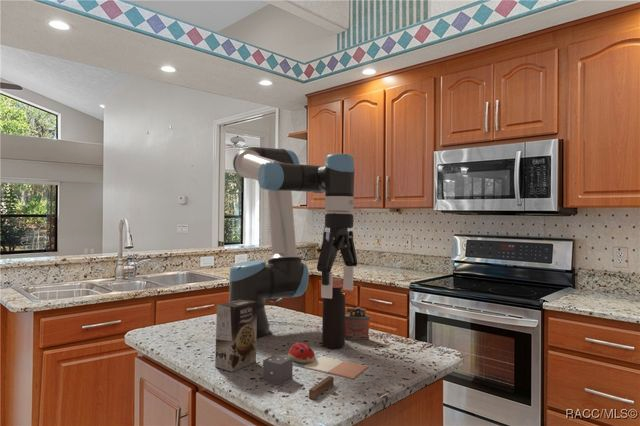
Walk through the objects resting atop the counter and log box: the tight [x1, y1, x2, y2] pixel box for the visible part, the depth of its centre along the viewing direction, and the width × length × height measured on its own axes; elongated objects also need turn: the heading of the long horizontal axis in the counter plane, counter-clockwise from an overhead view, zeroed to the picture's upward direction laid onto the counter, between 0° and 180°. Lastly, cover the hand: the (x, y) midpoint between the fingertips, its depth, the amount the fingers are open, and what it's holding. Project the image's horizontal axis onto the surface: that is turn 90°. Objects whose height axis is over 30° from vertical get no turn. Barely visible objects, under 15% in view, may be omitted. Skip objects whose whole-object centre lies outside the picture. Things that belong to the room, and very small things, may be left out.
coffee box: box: [214, 299, 257, 372], centre depth 108 cm, size 9×6×16 cm
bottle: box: [321, 277, 346, 350], centre depth 125 cm, size 7×7×20 cm
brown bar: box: [308, 375, 335, 400], centre depth 92 cm, size 1×9×2 cm, turn 150°
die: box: [262, 353, 294, 387], centre depth 98 cm, size 5×5×5 cm
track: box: [293, 354, 369, 379], centre depth 109 cm, size 21×9×1 cm, turn 60°
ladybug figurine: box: [287, 342, 316, 363], centre depth 112 cm, size 7×10×4 cm
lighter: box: [345, 306, 370, 342], centre depth 132 cm, size 8×3×10 cm, turn 84°
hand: (338, 293), depth 109 cm, fingers open, 13 cm apart
